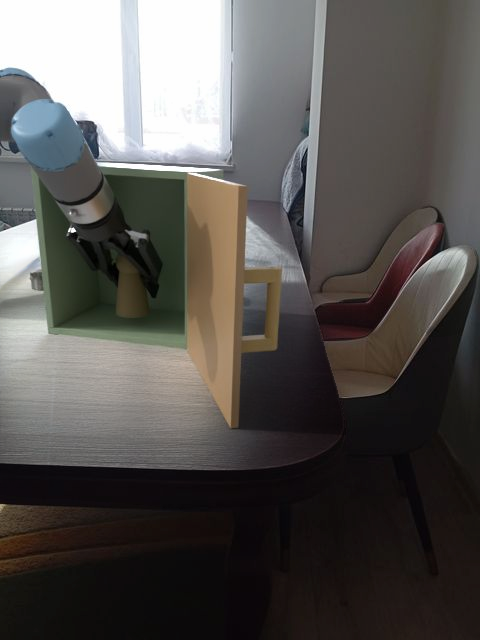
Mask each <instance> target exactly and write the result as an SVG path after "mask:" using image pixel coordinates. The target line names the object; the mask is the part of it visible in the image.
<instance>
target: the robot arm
mask: <svg viewBox="0 0 480 640" xmlns="http://www.w3.org/2000/svg"><path fill="white" fill-rule="evenodd" d="M0 142H5V143H7V142H8V143H14V145H15V146H16V147H17V149H18V150H19V152H20V153H21V155H22V156H23V158H24V159H25V161H27V163H29V165H30V168H31V167H32V168H33V169H34V171H35V172H36V174H37V175H38V177H39V178H40V179H41V181H42V182H43V183H44V185H45V186H46V187H47V189H48V190H49V192H50V194H51V195H52V197H53V198H54V200H55V201H56V203H57V204H58V206H59V207H60V208H61V210H62V211H63V213H64V214H65V216H66V217H67V218H68V220H69V222H70V224H71V225H70V228H69V230H68V232H67V235H66V238H67V239H68V240H69V241H70V242H71V243H72V244H74V245H75V247H76V248H77V250H78V251H79V253H80V254H81V256H82V257H83V259H84V260H85V262H86V263H87V265H88V266H89V268H90V269H91V270H92V271H97V270H101V272H102V273H104V274H106V276H107V277H108V279H109V280H110V281H111V282H114V284H115V285H116V287H117V288H118V280H119V270H118V268H117V266H116V263H113V265H112V261H113V259H112V258H111V253H110V249H113V250H115V251H116V252H117V253H118V254H119V255H120V256H124V257H125V258H126V259H127V260H128V261H129V262H130V263H131V264H132V265H133V266H134V267H135V268H136V269H137V270H138V271H139V272H140V273H141V274H142V277H141V280H142V282H143V283H144V285H145V287H146V288H147V290H148V292H149V294H150V295H151V297H152V298H156V296H157V293H158V289H159V284H158V279H159V276H160V273H161V269H162V266H163V263H162V261H161V259H160V257H159V255H158V253H157V251H156V250H155V248H154V246H153V244H152V242H151V240H150V232H149V231H148V230H143V231H142V233H139V232H135V231H132V228H131V227H130V226H129V225H128V224H126V222H125V219H124V214H123V211H122V209H121V207H120V205H119V204H118V202H117V200H116V198H115V196H114V194H113V191H112V190H111V188H110V186H109V184H108V182H107V180H106V178H105V177H104V175H103V173H102V172H101V170H100V168H99V166H98V164H97V162H98V161H96V158H95V157H94V154H93V152H92V151H91V149H90V146H89V145H88V142H87V140H86V139H85V137H84V132H83V130H82V128H81V126H80V125H79V123H77V121H76V119H75V118H74V117H73V115H72V113H71V112H70V110H69V109H68V108H67V106H66V105H64V104H63V103H61V102H59V101H55V100H54V99H53V98H52V96H51V94H50V92H49V91H48V90H47V89H46V87H45V86H44V85H43V84H41V83H40V82H39V81H38V80H37V79H36V78H35V77H34V76H33V75H32V74H30V73H29V72H27V71H25V70H23V69H21V68H17V67H6V68H2V69H0ZM133 240H134V241H133ZM91 242H92V243H91ZM134 242H135V243H136V245H135V244H134Z"/></svg>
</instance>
